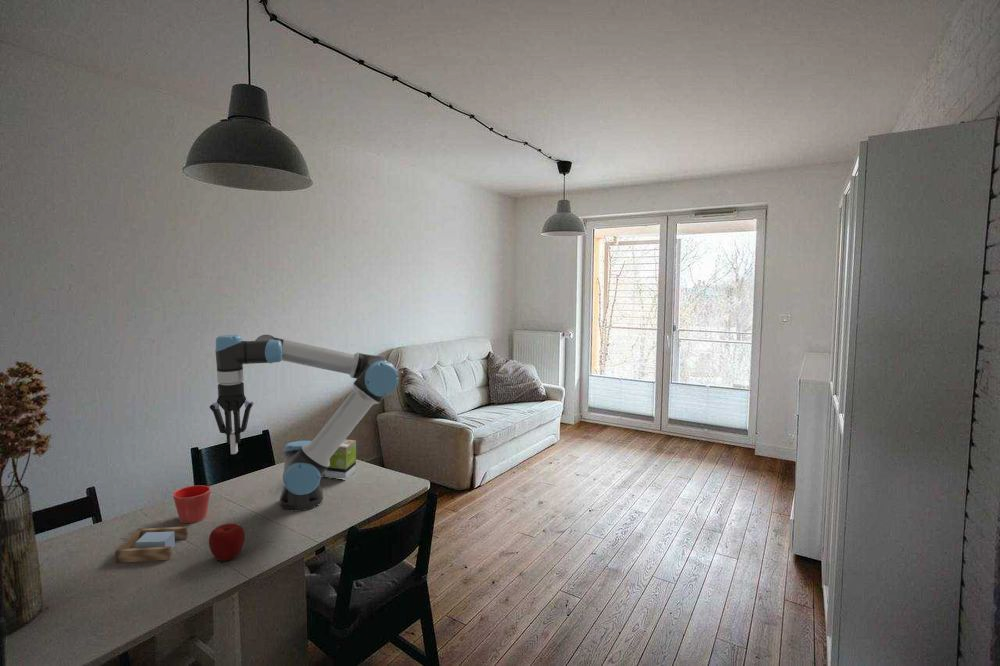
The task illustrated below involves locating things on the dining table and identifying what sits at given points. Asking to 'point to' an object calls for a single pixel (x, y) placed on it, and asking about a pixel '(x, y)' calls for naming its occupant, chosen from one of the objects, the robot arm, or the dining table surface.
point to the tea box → (342, 461)
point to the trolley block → (156, 540)
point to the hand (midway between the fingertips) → (234, 452)
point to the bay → (133, 554)
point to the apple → (226, 541)
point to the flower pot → (192, 503)
